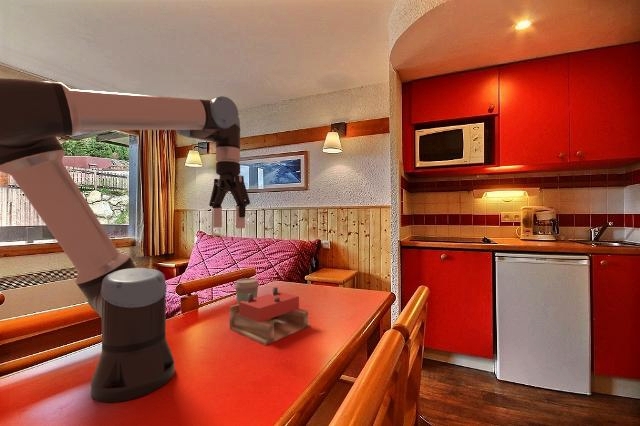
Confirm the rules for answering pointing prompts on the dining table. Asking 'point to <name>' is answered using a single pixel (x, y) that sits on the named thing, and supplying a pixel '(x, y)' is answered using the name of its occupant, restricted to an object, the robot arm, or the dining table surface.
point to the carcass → (268, 324)
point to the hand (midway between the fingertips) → (228, 227)
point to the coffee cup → (246, 288)
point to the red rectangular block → (268, 306)
